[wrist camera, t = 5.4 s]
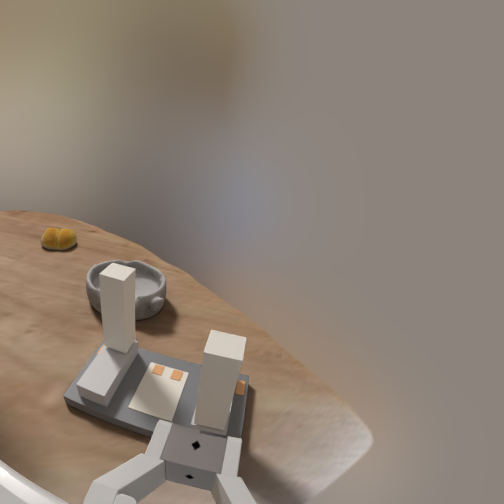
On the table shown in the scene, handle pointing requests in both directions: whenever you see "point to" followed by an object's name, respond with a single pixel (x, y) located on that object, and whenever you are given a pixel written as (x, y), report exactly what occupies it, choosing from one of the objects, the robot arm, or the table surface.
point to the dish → (146, 287)
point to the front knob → (218, 378)
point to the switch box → (147, 391)
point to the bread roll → (58, 239)
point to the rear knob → (118, 306)
